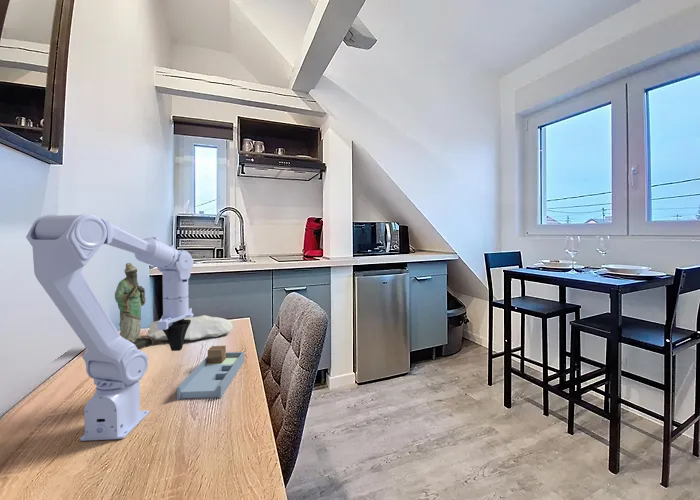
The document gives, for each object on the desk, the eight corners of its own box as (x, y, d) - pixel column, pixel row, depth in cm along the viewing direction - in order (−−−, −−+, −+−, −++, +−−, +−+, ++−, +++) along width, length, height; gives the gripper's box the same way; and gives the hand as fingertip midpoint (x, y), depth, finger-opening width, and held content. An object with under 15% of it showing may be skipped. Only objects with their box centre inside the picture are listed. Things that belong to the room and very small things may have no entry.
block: (221, 363, 94) (221, 350, 94) (207, 363, 94) (207, 350, 94) (225, 358, 98) (225, 345, 98) (212, 358, 98) (212, 345, 98)
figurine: (129, 353, 107) (127, 264, 106) (103, 351, 108) (101, 263, 107) (153, 343, 117) (151, 262, 116) (129, 341, 118) (127, 261, 117)
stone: (151, 312, 128) (229, 308, 142) (150, 331, 129) (229, 325, 143) (145, 329, 110) (236, 322, 124) (145, 351, 111) (235, 342, 124)
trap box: (221, 398, 77) (220, 386, 77) (177, 399, 76) (176, 387, 76) (244, 361, 100) (244, 351, 100) (210, 362, 99) (210, 352, 99)
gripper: (179, 302, 74) (180, 360, 74) (202, 292, 88) (203, 340, 89) (147, 302, 73) (148, 361, 74) (176, 292, 87) (177, 341, 88)
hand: (176, 349), depth 81 cm, fingers closed
